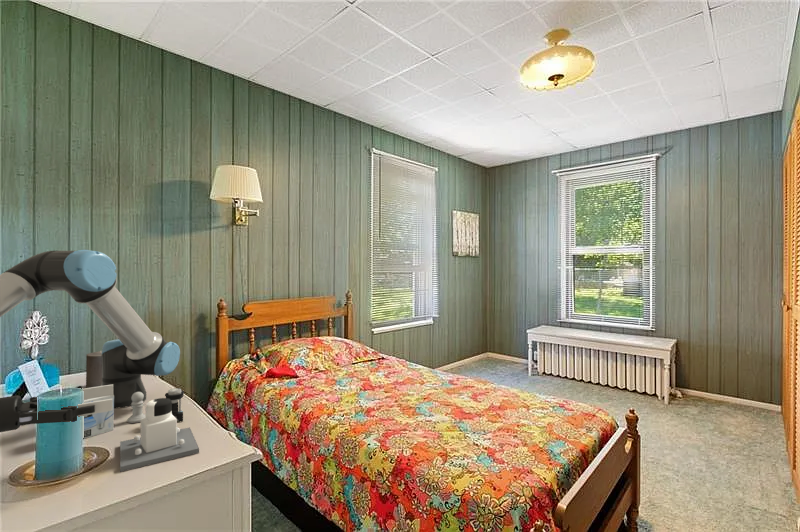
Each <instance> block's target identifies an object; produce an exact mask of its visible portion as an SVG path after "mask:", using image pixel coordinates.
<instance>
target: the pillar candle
mask: <svg viewBox="0 0 800 532" xmlns="http://www.w3.org/2000/svg"><path fill="white" fill-rule="evenodd" d="M101 353H102V349H100V351H94V352H89V353H87V354H86V356H85V357H86V360H85V361H86V363H85V364H86V367H85V368H86V370H85V371H86V373H85V388H91V387H98V386H101V385H102V355H101Z"/></svg>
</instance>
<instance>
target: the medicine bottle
mask: <svg viewBox="0 0 800 532" xmlns="http://www.w3.org/2000/svg"><path fill="white" fill-rule="evenodd" d="M145 415H146V417H145V418H142V419H141V422H140V437H141V445H142V447H143V449H144V450H145V452H146V453H149V452H153V451H156V450H160V449H164V448H167V447H171V446H175V445H177V427H178V422H177V419H176V418H175V417H174V416H173V415H172V401H171V400H170V399H167V398H166V397H159V398H154V399H151V400H150V401H147V402H146V404H145Z"/></svg>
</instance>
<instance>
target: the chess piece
mask: <svg viewBox="0 0 800 532" xmlns="http://www.w3.org/2000/svg"><path fill="white" fill-rule="evenodd" d="M143 398H144V394H143V393H142V392H136V393H134V394H133V395H132V398H131V399H132V401H133V402H132V403H131V405H132V406H130V407H131V409H132V411H131V412H132V415H130V416H129V417H128V418H127V420H126V421H127V422H128V423H129V424H135V423H136V424H137V423H141V419H142V418H145V417H146V413H143V406H145V405H144V401H142V400H143Z"/></svg>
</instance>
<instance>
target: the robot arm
mask: <svg viewBox="0 0 800 532" xmlns="http://www.w3.org/2000/svg"><path fill="white" fill-rule="evenodd" d="M116 271H117V266H116V263H114V261H113V260H112V258H111V257H109V256H108V255H107V254H105V253H104V252H102V251H98V250H90V249H79V250H47V251H43V252H39V253H37V254H35V255H32V256H30V257H28V258H25V259H24V260H22V261H20V262H19V263H17V264H16V265H14V266H11V267H10V268H9V269H7V270H5V271H4V272H2V273H0V318H1V317H2V316H4V315H5V314H7V313H8V312H10V311H11V310H12V309H14V308H15V307H16V306H18V305H19V304H21V303H23V302H24V301H31V300H34V298H36V297H38V296H39V295H42V294H44V293H47V292H50V291H58V292H59V291H65V292H66V293H67V294H68V295H69V296H70V297H71V298H72V299H73V300H74V301H75V302H76V303H78V304H86V305H87V307H88V308H90V309H91V311H92V312H93V313H94V314H95V315H96V316H97V318H98V319H100V320H101V322H102V323H103V324H104V325H106V327H107V328H108V329H109V331H110V332H111V333H112V334H113V335H114V336H115V337H116V338H117V339H113V340H108V341H105V342H104V343H103V344H102V348H101V351H102V353H101V355H102V385H101V386H98V387H91V388H86V387H85V388H83V386H82V385H77V386H76V387H75V388H81V389H83V391H84V400H86V399H92V398H98V397H104V396H110V395H114V410H115V409H120V408H121V409H122V408H127V407H131V406H132V405H131V403H132V402H133V401H132V399H131V398H132V395H133V394H134V393H136V392H142V393H143V394H144V398H143V400H142V401H146V400H147V391H146V388H145V385H144V382H143V380H142V375H143V376H144V375H145V376H157V377H160V376H167V375H169V374H171V373H173V372H174V371H175V369H176V368H177V366H178V364H179V361H180V355H181V349H180V346H179V345H178V343H176V342H173V341H169V342H168V341H166V340H165V338H164V337H163V336H162V334H160V333H159V332H158V331H157V332H156V331H152V330H151V329H150V328H149V326H148V325H147V324H146V323H145V321H143V319H142V318H141V316H140V315H139V314H138V313H137V312H136V310H135V309H134V308H133V307H132V306H131V304H130V303H129V302H128V300H127V299H126V298H125V297H124V296H123V295H122V293H121V292H120V291H119V290H118V288H117V287H116V285H117V284H118V283H117V282H118V281H117V276H118V275H117V272H116ZM37 397H38V396H37V395H36V396H32V397H30V398H29V401H28V402H27V401H26V402H23V401H22V397H21V396H20V395H11V396H3V397H0V433H3V432H9V431H11V432H12V431H16V430H18V429H19V428H20V427H22V426H27V425H35V424H36V425H37V424H51V423H52V424H53V423H63V422H70V421H71V422H75V421H77V416H78V417H80V416H85V415H91V414H96V413H102V412H108V411H113V403H112V399H106V400H100V401H94V402H88V403H82V404H78V405H77V406H78V408H77V406H68V407H63V408H61V410H45V411H39V412H38V420H37Z"/></svg>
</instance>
